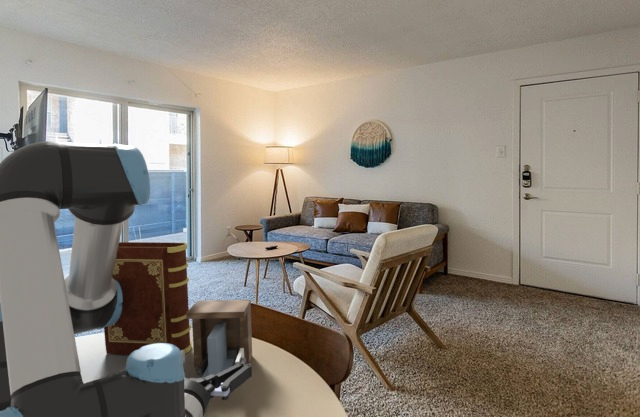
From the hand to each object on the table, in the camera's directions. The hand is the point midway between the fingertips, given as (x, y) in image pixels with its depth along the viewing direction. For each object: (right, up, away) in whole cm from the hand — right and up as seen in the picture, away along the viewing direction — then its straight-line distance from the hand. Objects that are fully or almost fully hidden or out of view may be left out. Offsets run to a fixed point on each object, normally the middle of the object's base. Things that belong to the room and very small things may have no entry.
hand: (212, 354), depth 88 cm
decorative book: (-23, -6, +19) cm, 30 cm away
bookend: (0, -7, +6) cm, 9 cm away
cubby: (0, -6, +10) cm, 12 cm away
